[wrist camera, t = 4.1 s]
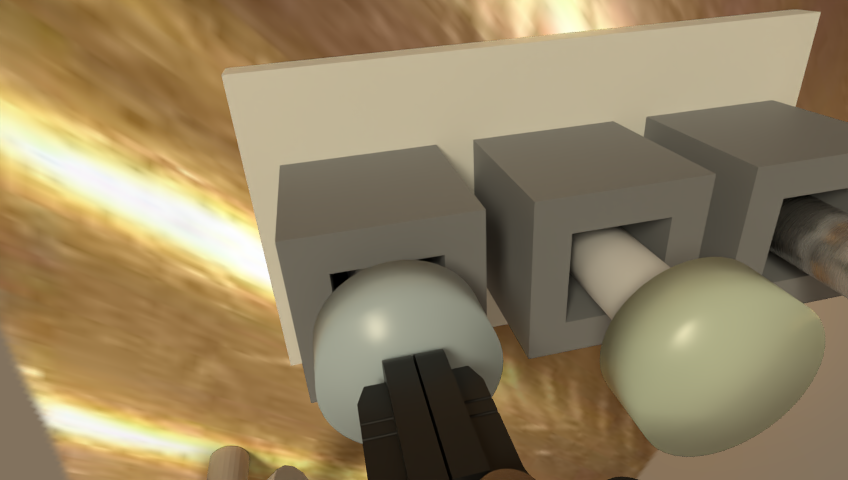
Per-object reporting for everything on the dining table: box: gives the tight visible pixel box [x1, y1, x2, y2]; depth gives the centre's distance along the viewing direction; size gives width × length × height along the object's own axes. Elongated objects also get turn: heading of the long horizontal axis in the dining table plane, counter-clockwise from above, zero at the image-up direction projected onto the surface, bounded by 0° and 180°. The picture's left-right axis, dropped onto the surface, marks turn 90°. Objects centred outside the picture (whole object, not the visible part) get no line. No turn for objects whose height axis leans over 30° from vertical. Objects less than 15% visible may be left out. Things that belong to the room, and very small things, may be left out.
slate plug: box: [313, 260, 503, 444], centre depth 17 cm, size 5×5×8 cm
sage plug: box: [569, 226, 825, 457], centre depth 16 cm, size 5×5×8 cm
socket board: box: [222, 9, 848, 403], centre depth 20 cm, size 12×22×7 cm, turn 94°
